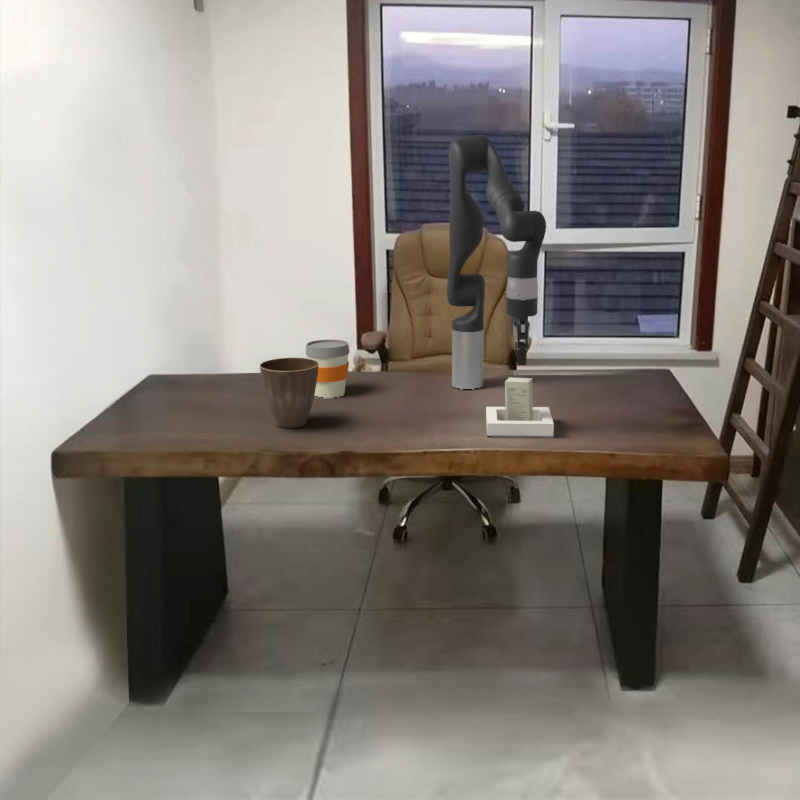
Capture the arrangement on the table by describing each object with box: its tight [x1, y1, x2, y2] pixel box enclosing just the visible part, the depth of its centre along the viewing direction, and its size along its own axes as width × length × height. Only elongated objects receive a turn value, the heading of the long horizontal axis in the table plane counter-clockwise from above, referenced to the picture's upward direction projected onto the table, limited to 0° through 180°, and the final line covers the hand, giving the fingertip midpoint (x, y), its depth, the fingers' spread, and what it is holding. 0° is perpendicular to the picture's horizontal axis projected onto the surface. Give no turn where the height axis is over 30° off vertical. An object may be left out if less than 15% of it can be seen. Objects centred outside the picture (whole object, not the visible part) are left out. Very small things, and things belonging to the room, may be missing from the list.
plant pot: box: [259, 357, 319, 429], centre depth 231 cm, size 15×15×16 cm
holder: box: [485, 406, 555, 439], centre depth 226 cm, size 15×16×4 cm
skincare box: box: [504, 376, 534, 421], centre depth 225 cm, size 6×4×12 cm
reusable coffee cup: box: [305, 339, 350, 399], centre depth 260 cm, size 13×13×15 cm
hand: (520, 360), depth 222 cm, fingers open, 8 cm apart
